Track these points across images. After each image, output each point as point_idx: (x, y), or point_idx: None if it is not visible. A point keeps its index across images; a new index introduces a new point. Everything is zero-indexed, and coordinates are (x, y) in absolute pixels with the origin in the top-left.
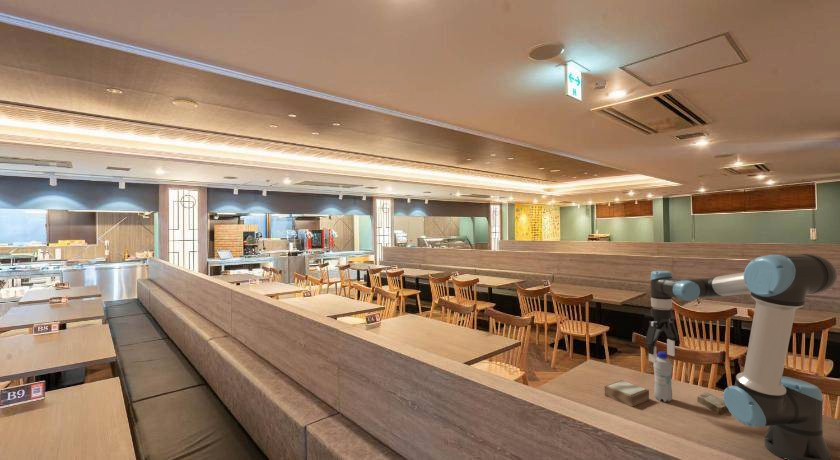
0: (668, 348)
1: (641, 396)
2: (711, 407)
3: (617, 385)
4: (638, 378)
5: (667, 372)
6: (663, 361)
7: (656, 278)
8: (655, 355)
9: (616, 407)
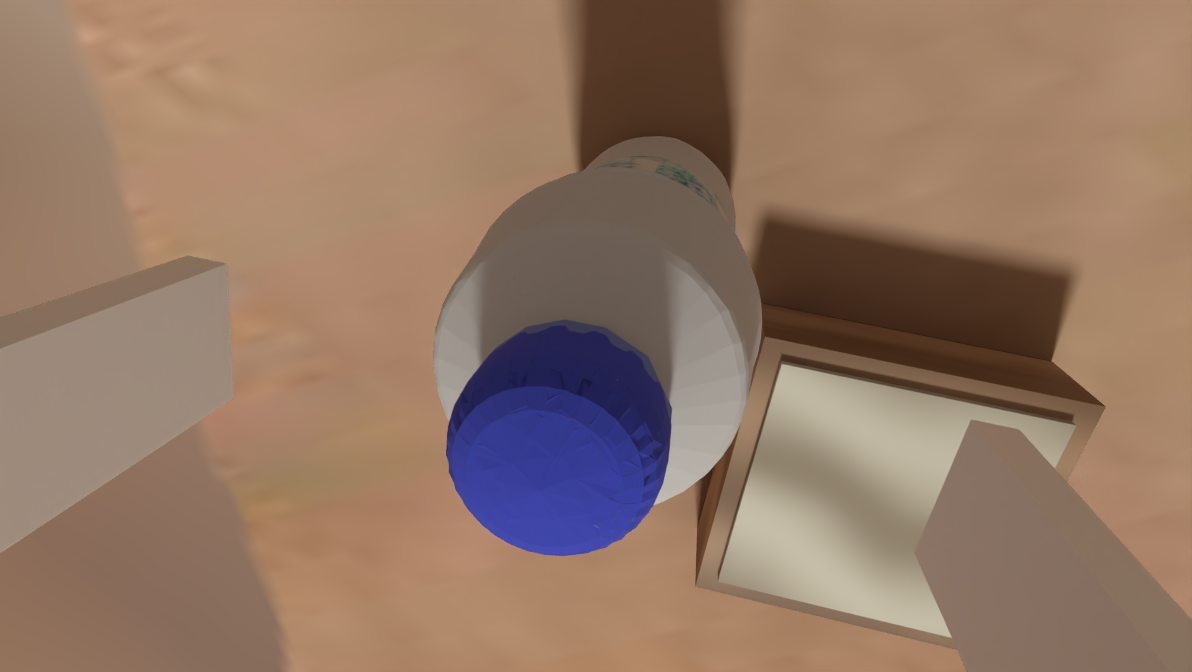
0: (113, 445)
1: (900, 352)
2: None
3: (885, 581)
4: (359, 499)
5: (708, 208)
6: (714, 333)
7: None
8: (1113, 547)
9: (1161, 450)
